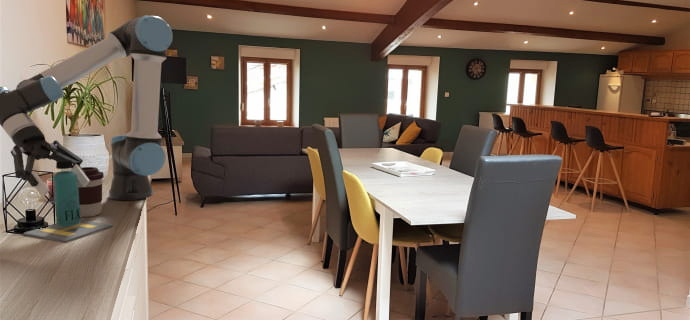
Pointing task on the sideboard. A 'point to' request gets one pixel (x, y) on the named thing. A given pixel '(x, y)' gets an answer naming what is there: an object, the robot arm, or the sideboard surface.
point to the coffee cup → (91, 193)
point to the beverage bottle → (66, 195)
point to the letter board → (68, 231)
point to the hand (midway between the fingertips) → (67, 188)
